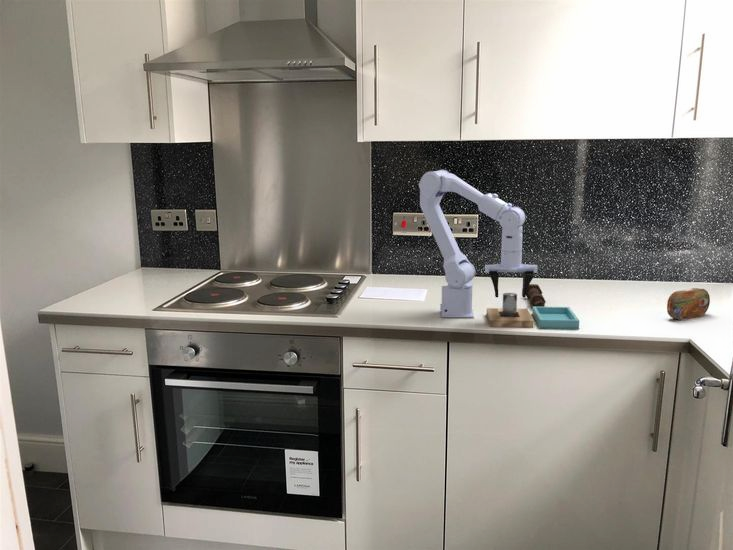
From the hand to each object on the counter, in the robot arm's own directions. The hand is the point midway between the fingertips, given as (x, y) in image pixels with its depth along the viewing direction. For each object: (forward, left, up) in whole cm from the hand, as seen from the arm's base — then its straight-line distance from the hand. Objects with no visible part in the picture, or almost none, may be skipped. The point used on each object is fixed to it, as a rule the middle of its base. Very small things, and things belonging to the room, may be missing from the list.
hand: (510, 296), depth 180 cm
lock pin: (0, 0, -7) cm, 7 cm away
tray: (+13, 0, -7) cm, 15 cm away
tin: (+52, +7, -8) cm, 53 cm away
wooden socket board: (0, 0, -7) cm, 7 cm away
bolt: (+10, +18, -8) cm, 22 cm away
